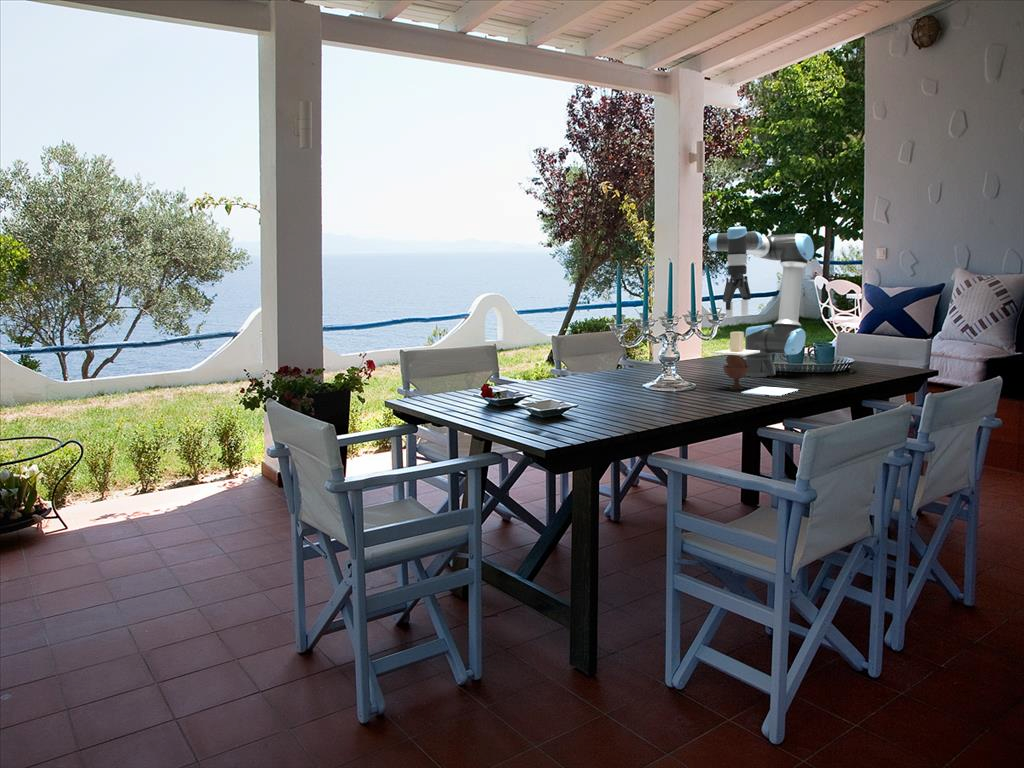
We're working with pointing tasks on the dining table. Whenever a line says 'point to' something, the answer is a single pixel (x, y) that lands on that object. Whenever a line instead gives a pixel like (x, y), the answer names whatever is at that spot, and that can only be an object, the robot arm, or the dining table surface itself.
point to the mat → (770, 391)
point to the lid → (736, 346)
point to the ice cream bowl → (736, 369)
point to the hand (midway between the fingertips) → (737, 316)
